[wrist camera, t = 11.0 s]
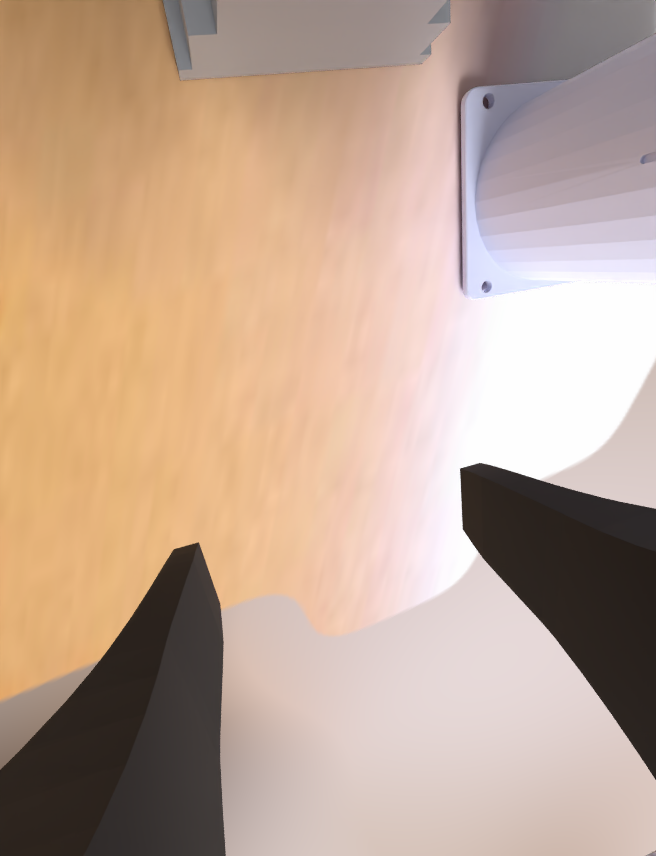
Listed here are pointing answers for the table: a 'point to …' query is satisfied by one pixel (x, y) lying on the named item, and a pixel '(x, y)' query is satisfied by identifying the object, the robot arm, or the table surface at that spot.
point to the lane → (300, 35)
